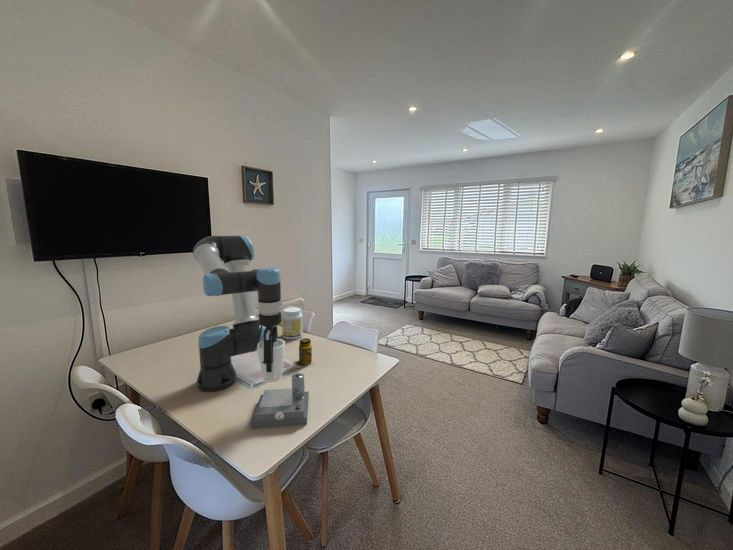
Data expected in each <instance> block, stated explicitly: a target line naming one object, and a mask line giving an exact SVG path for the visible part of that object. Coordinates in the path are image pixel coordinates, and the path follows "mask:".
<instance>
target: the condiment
mask: <svg viewBox="0 0 733 550" xmlns="http://www.w3.org/2000/svg"><path fill="white" fill-rule="evenodd" d="M312 347H313V346H312V343H311V338H305V337H304V338H301V339H300V340H299V346H298V358H299V359H298V360H296V361H295V360H294V361H292V363H293V364H294V366H295V367H296V368H297V369H300V368H304V367H309V366H313V365H315V363H314V362H313V361H312V355H313V354H312V353H313V352H312V351H313V350H312V349H313V348H312Z"/></svg>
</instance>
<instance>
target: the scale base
mask: <svg viewBox="0 0 733 550" xmlns="http://www.w3.org/2000/svg"><path fill="white" fill-rule="evenodd" d="M309 395H310V394H309V391H307V390H306V391H304V402H303V405H292V406H278V407H265V408H259V405H260V402H261V399H262V396H263V394H260V396H259V400H258V402H257V404H256V408H255V411H254V413H253V417H252V420H251V429H254V430H255V429H262V428H263V429H264V428H275V427H278V428H279V427H288V426H290V427H291V426H299V425H308V413H309V411H308V410H309V401H310V400H309V398H310V397H309Z"/></svg>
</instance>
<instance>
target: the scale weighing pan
mask: <svg viewBox="0 0 733 550" xmlns="http://www.w3.org/2000/svg"><path fill="white" fill-rule="evenodd" d="M305 389H306V388H305V387H304V392H306V391H305ZM303 402H304V398H302V399H299V400H295V399H293V398H292V387H291V388H276V389H265V390H264V391H263V396H262V399H261V402H260V405H259V408H265V407H278V406H292V405H303Z"/></svg>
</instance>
